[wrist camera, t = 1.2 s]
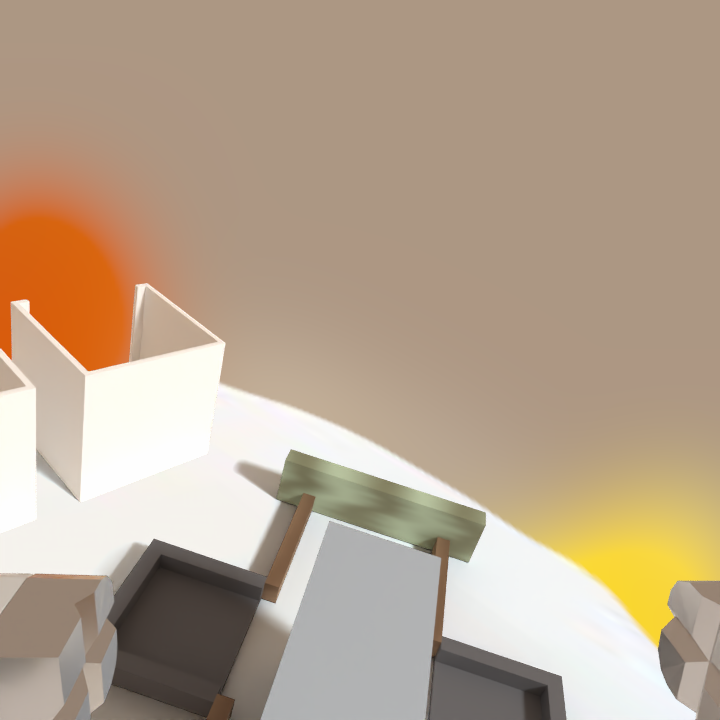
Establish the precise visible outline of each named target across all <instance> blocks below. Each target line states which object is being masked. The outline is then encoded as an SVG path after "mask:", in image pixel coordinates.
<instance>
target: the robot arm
mask: <svg viewBox="0 0 720 720" xmlns="http://www.w3.org/2000/svg"><path fill="white" fill-rule="evenodd" d="M113 603H114V594H113V586H112V581H111V580H110V578H109V577H108V576H97V575H63V574H34V575H33V574H16V573H0V720H91V713H92V712H93V711H94V710H96V709H97V708H98V707H99V706H101V705H102V704H103V703H104V702H105V699H106V697H107V694H108V691H109V689H110V686H111V683H112V679H113V674H114V670H115V665H116V658H117V630H116V628H115V627H114V626H113V624H112V623H111V622H110V621H109V620H108V619H107V616H108V614H109V612H110V610H111V608H112V606H113ZM668 606H669V608H670V610H671V612H672V613H673V615H674V618H673V619H672V620H671V621H670V622H669V623H668V624H667V625H666V626H665V627H664V628H663V629H662V631H661V636H660V642H659V647H658V652H659V659H660V666H661V671H662V673H663V676H664V678H665V681H666V683H667V685H668V687H669V689H670V690H671V692H672V693H673V695H674V696H675V698H676V699H677V700H678V701H680V702H681V703H682V704H684V705H685V706H687V707H688V708H690V709H691V710H693V711H694V712H696V719H695V720H720V581H677V582H676V584H675V585H674V587H673V588H672V589H671V592H670V596H669V600H668Z"/></svg>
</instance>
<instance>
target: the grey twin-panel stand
mask: <svg viewBox="0 0 720 720" xmlns="http://www.w3.org/2000/svg"><path fill="white" fill-rule="evenodd" d="M11 330H12V361H11V360H10V359H9V357H8V356H7V355H6V354H5V353H4V352H3V351H2V350H1V349H0V533H2V532H5V531H7V530H10V529H13V528H15V527H18V526H20V525H23V524H26V523H28V522H31V521H33V520H36V449H37V451H38V452H39V453H40V454H41V456H42V457H43V458H44V459H45V460H46V462H47V463H48V464H49V465H50V466H51V468H52V469H53V470H54V471H55V473H56V474H57V475H58V476H59V477H60V479H61V480H62V481H63V482H64V484H65V485H66V486H67V487H68V488H69V490H70V491H71V492H72V493H73V495H74V496H75V497H76V498H77V499H78V501H79V502H83V501H85V500H88V499H91V498H93V497H96V496H98V495H101V494H104V493H106V492H109V491H111V490H114V489H117V488H119V487H122V486H124V485H127V484H130V483H132V482H135V481H137V480H140V479H143V478H145V477H148V476H150V475H153V474H156V473H158V472H161V471H163V470H166V469H169V468H171V467H174V466H176V465H179V464H182V463H184V462H187V461H189V460H192V459H195V458H197V457H200V456H202V455H205V454H208V447H209V441H210V435H211V429H212V423H213V417H214V410H215V404H216V398H217V392H218V386H219V380H220V373H221V367H222V361H223V355H224V349H225V342H223V341H222V340H221V339H219V338H218V337H217V336H215V335H214V334H213V333H211V332H210V331H209V330H208V329H206V328H205V327H204V326H202V325H201V324H200V323H198V322H197V321H196V320H194V319H193V318H192V317H191V316H189V315H188V314H187V313H185V312H184V311H183V310H181V309H180V308H179V307H178V306H176V305H175V304H174V303H172V302H171V301H170V300H168V299H167V298H166V297H164V296H163V295H162V294H161V293H159V292H158V291H157V290H155V289H154V288H153V287H151V286H150V285H149V284H139V285H135V298H134V308H133V321H132V334H131V346H130V358H129V362H128V363H124V364H120V365H115V366H111V367H107V368H103V369H98V370H94V371H89V372H88V371H87V370H86V369H85V368H84V367H83V366H82V365H81V364H80V363H79V362H78V361H77V360H76V359H75V358H74V357H72V355H71V354H70V353H69V352H68V351H67V350H66V349H64V347H63V346H62V345H61V344H60V343H59V342H57V341H56V340H55V338H53V337H52V336H51V335H50V334H49V333H48V332H47V331H46V330H45V329H44V328H43V327H42V326H41V325H40V324H39V323H38V322H37V321H36V320H35V319H34V318H33V317H32V316H31V315H30V314H29V301H28V300H20V301H13V302H11Z"/></svg>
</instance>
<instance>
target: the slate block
mask: <svg viewBox="0 0 720 720" xmlns="http://www.w3.org/2000/svg"><path fill="white" fill-rule="evenodd" d="M440 565H441V558H440V557H437V556H434V555H431V554H428V553H425V552H422V551H419V550H416V549H413V548H410V547H407V546H404V545H401V544H398V543H395V542H392V541H388V540H385V539H382V538H379V537H376V536H373V535H370V534H367V533H364V532H361V531H358V530H355V529H352V528H349V527H346V526H343V525H340V524H337V523H334V522H331V521H329V524H328V527H327V530H326V532H325V535H324V538H323V541H322V544H321V547H320V550H319V553H318V555H317V558H316V561H315V564H314V567H313V570H312V573H311V576H310V578H309V581H308V584H307V587H306V590H305V593H304V596H303V599H302V601H301V604H300V607H299V610H298V613H297V616H296V619H295V622H294V624H293V627H292V630H291V633H290V636H289V639H288V642H287V645H286V647H285V650H284V653H283V656H282V659H281V662H280V665H279V668H278V670H277V673H276V676H275V679H274V682H273V685H272V688H271V691H270V693H269V696H268V699H267V702H266V705H265V708H264V711H263V714H262V717H261V719H260V720H425V718H426V708H427V698H428V688H429V677H430V667H431V657H432V647H433V636H434V626H435V616H436V606H437V596H438V585H439V575H440Z"/></svg>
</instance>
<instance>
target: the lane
mask: <svg viewBox="0 0 720 720" xmlns="http://www.w3.org/2000/svg"><path fill="white" fill-rule="evenodd" d="M276 499H278V500H281V501H284V502H287V503H290V504H293V505H296V506H298V507H297V509H296V512H295V514H294V516H293V519H292V521H291V523H290V526H289V528H288V530H287V533H286V535H285V537H284V540H283V542H282V544H281V547H280V549H279V551H278V554H277V556H276V558H275V560H274V563H273V565H272V567H271V570H270V572H269V574H268V577H267V579H266V581H265V584H264V589H263V593H262V597H261V598H262V599H265V600H268V601H271V602H274V603H276V600H277V598H278V595H279V592H280V590H281V587H282V585H283V582H284V580H285V577H286V575H287V572H288V570H289V567H290V565H291V562H292V560H293V557H294V554H295V552H296V549H297V547H298V544H299V542H300V539H301V537H302V534H303V532H304V529H305V527H306V524H307V522H308V519H309V516H310V514H311V511H314V512H317V513H320V514H323V515H326V516H329V517H332V518H335V519H338V520H341V521H344V522H347V523H350V524H353V525H356V526H359V527H362V528H365V529H368V530H371V531H374V532H378V533H381V534H384V535H387V536H390V537H393V538H396V539H399V540H402V541H405V542H408V543H411V544H414V545H417V546H420V547H423V548H426V549H429V550H432V554H431V555H434V556H437V557H440V558H441V565H440V575H439V585H438V596H437V606H436V616H435V626H434V636H433V647H432V657H435V655H436V653H437V651H438V649H439V647H440V644H441V642H442V630H443V618H444V606H445V594H446V582H447V570H448V558H449V556H450V557H453V558H456V559H459V560H462V561H465V562H469V560H470V558H471V556H472V554H473V552H474V549H475V547H476V545H477V543H478V541H479V539H480V536H481V534H482V532H483V530H484V528H485V526H486V513H485V512H482V511H479V510H476V509H473V508H470V507H467V506H464V505H460V504H457V503H454V502H451V501H448V500H445V499H442V498H439V497H436V496H433V495H430V494H427V493H424V492H421V491H417V490H414V489H411V488H408V487H405V486H402V485H399V484H396V483H393V482H390V481H387V480H384V479H381V478H377V477H374V476H371V475H368V474H365V473H362V472H359V471H356V470H353V469H350V468H347V467H344V466H341V465H337V464H334V463H331V462H328V461H325V460H322V459H319V458H316V457H313V456H310V455H307V454H304V453H301V452H298V451H294V450H290V452H289V454H288V456H287V458H286V460H285V464H284V469H283V473H282V477H281V481H280V485H279V489H278V494H277V498H276ZM234 701H235V700H234V699H231V698H228V697H225V696H222V695H220V694H217V695H216V698H215V700H214V702H213V705H212V707H211V709H210V712H209V714H208V716H207V719H206V720H229V719H230V717H231V713H232V709H233V705H234Z"/></svg>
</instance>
